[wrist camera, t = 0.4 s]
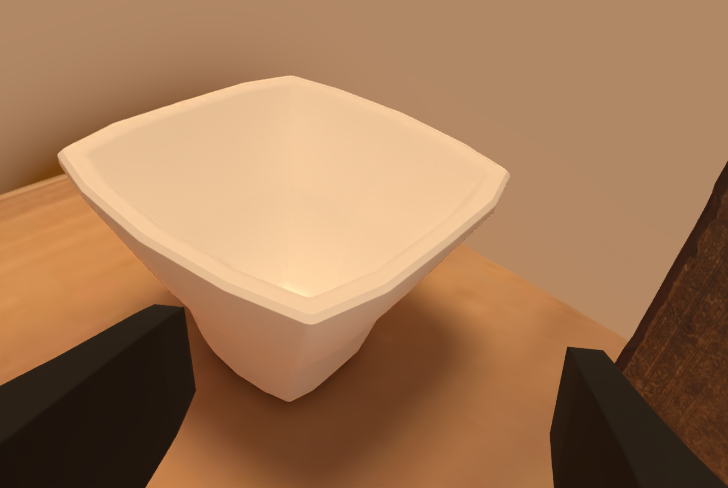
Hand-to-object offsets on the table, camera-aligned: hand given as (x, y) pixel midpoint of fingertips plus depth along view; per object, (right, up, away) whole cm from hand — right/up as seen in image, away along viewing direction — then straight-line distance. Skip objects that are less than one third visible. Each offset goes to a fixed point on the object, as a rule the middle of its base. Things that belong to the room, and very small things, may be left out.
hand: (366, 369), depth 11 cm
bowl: (-5, -5, +28) cm, 29 cm away
